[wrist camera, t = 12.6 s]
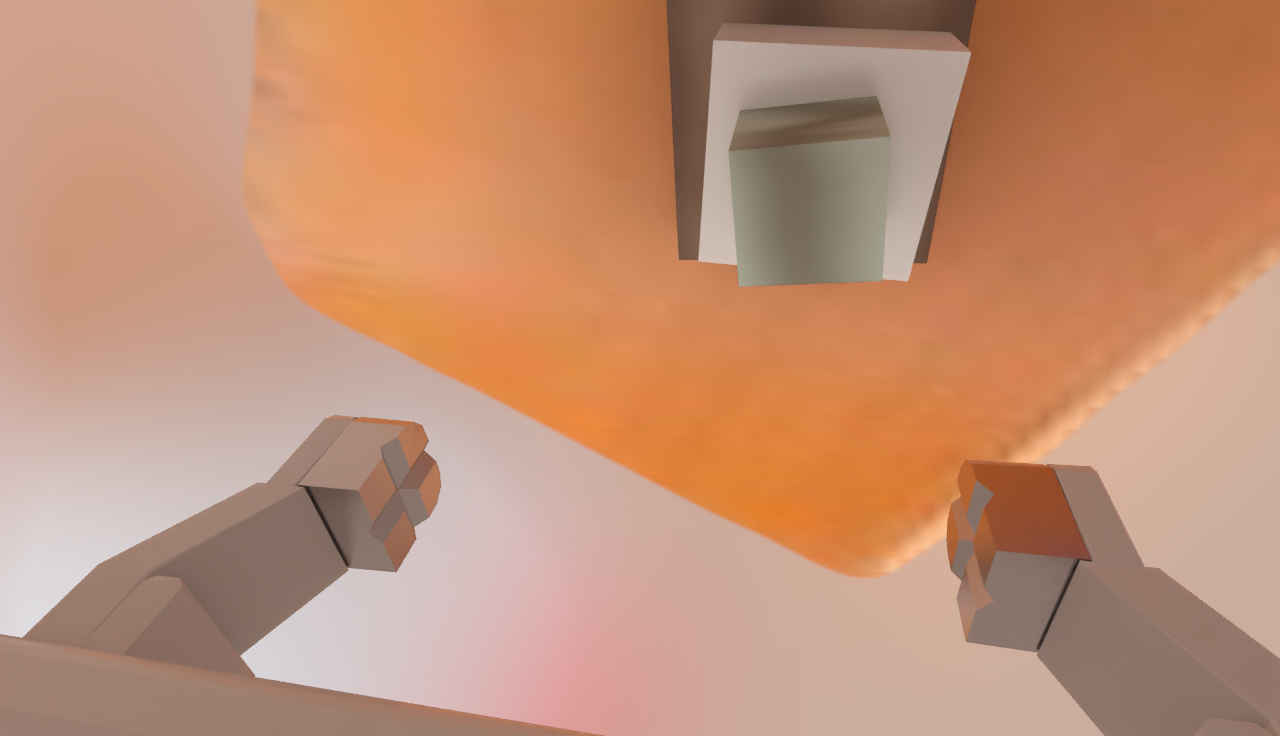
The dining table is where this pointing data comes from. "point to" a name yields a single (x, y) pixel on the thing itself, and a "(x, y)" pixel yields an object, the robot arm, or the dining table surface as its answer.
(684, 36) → the walnut base slab
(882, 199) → the sage cube
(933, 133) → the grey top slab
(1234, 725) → the robot arm
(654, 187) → the dining table surface
